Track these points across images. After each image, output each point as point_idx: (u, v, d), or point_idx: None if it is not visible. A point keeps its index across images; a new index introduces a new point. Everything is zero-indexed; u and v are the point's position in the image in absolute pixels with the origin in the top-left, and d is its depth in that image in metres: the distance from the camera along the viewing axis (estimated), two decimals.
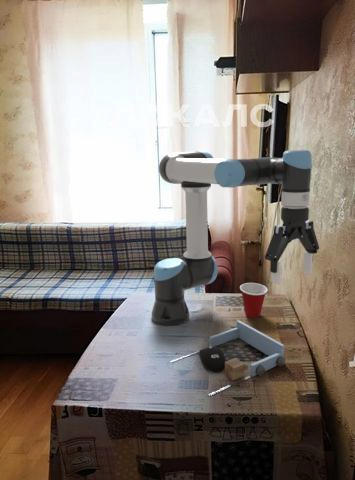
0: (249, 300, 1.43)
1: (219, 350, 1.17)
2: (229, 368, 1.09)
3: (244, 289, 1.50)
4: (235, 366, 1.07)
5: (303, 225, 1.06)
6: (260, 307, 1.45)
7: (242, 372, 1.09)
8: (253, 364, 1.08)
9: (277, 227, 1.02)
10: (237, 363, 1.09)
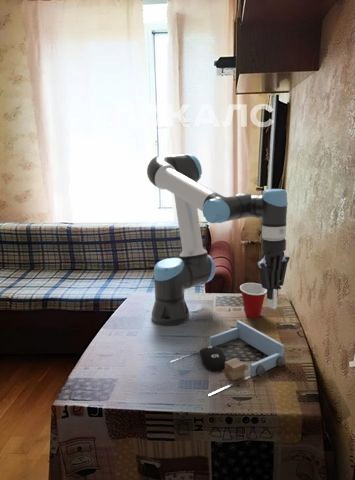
0: (249, 300, 1.43)
1: (219, 350, 1.17)
2: (229, 368, 1.09)
3: (244, 289, 1.50)
4: (235, 366, 1.07)
5: (282, 253, 1.19)
6: (260, 307, 1.45)
7: (242, 372, 1.09)
8: (253, 364, 1.08)
9: (259, 264, 1.16)
10: (237, 363, 1.09)
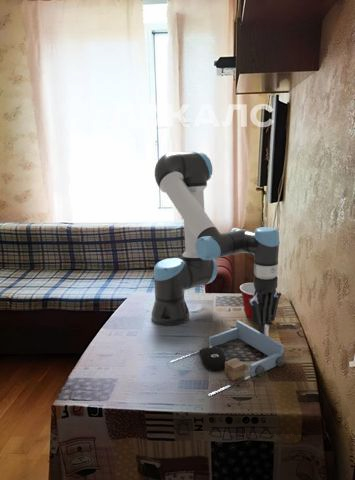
0: None
1: (219, 350, 1.17)
2: (229, 368, 1.09)
3: (244, 289, 1.50)
4: (235, 366, 1.07)
5: (273, 290, 1.21)
6: None
7: (242, 372, 1.09)
8: (253, 364, 1.08)
9: (250, 302, 1.18)
10: (237, 363, 1.09)
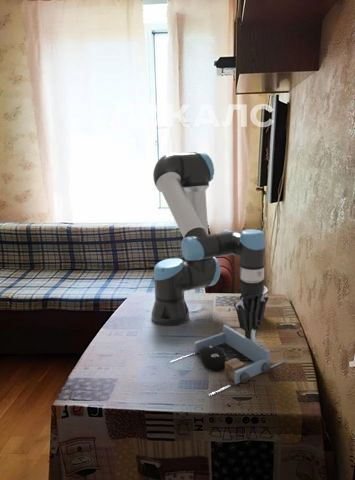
0: None
1: (219, 349, 1.17)
2: (229, 368, 1.09)
3: None
4: (235, 366, 1.07)
5: (260, 294, 1.18)
6: None
7: None
8: (237, 371, 1.05)
9: (236, 306, 1.14)
10: (237, 363, 1.09)
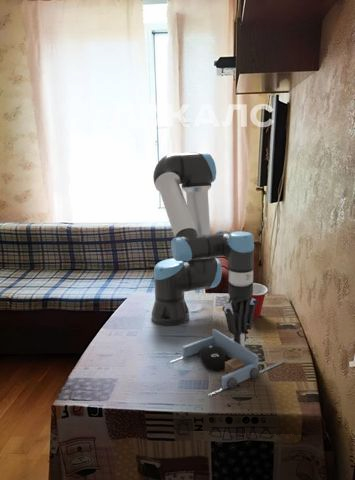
0: None
1: (219, 349, 1.17)
2: (229, 368, 1.09)
3: None
4: (235, 366, 1.07)
5: (249, 297, 1.15)
6: (260, 307, 1.45)
7: None
8: (224, 376, 1.03)
9: (224, 310, 1.12)
10: (237, 363, 1.09)
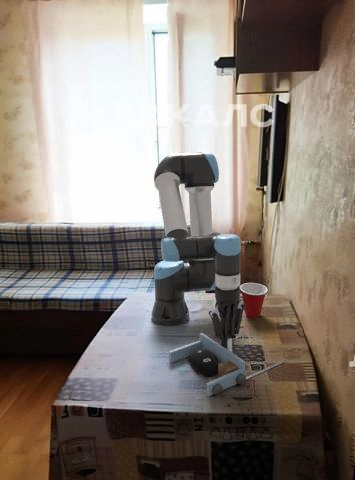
0: (249, 300, 1.43)
1: (209, 353, 1.15)
2: (222, 371, 1.07)
3: (244, 289, 1.50)
4: (228, 369, 1.06)
5: (237, 301, 1.13)
6: (260, 307, 1.45)
7: None
8: (209, 383, 1.00)
9: (211, 314, 1.09)
10: (231, 366, 1.07)
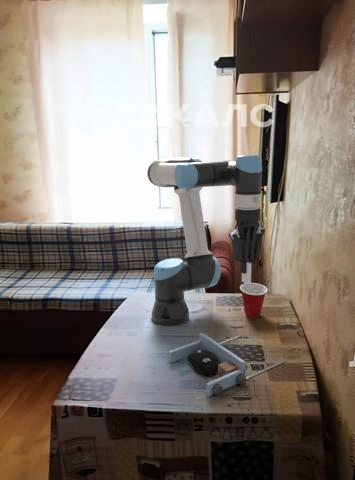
0: (249, 300, 1.43)
1: (209, 353, 1.15)
2: (222, 371, 1.07)
3: (244, 289, 1.50)
4: (228, 369, 1.06)
5: (256, 224, 1.12)
6: (260, 307, 1.45)
7: None
8: (209, 383, 1.00)
9: (231, 235, 1.09)
10: (230, 366, 1.07)
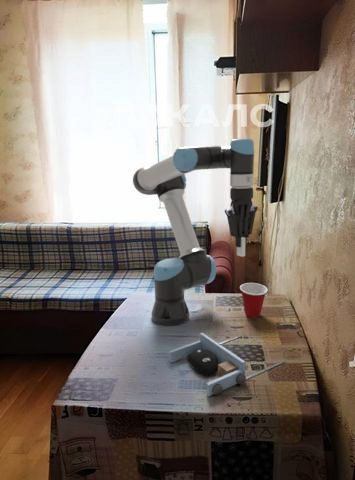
0: (249, 300, 1.43)
1: (209, 353, 1.15)
2: (222, 371, 1.07)
3: (244, 289, 1.50)
4: (228, 369, 1.06)
5: (250, 202, 1.24)
6: (260, 307, 1.45)
7: None
8: (209, 383, 1.00)
9: (226, 211, 1.21)
10: (230, 366, 1.07)
